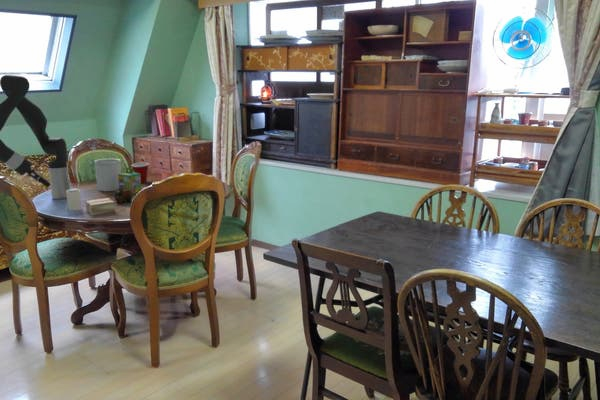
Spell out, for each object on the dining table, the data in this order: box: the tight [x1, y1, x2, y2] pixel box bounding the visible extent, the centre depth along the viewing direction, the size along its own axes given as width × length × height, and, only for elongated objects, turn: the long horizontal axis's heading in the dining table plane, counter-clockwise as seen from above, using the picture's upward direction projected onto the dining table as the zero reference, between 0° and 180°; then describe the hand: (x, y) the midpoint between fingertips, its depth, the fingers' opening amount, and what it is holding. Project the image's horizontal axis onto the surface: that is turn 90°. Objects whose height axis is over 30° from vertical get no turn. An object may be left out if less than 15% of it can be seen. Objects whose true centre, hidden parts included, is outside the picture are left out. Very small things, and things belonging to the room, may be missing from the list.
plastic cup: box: [131, 161, 150, 183], centre depth 319 cm, size 11×11×12 cm
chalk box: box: [118, 167, 142, 195], centre depth 288 cm, size 9×9×15 cm
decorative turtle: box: [113, 188, 134, 205], centre depth 268 cm, size 10×15×8 cm, turn 47°
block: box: [85, 197, 116, 216], centre depth 250 cm, size 11×11×5 cm
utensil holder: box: [94, 157, 122, 192], centre depth 299 cm, size 15×15×18 cm
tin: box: [66, 188, 83, 212], centre depth 253 cm, size 6×6×10 cm
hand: (47, 184), depth 245 cm, fingers open, 8 cm apart
